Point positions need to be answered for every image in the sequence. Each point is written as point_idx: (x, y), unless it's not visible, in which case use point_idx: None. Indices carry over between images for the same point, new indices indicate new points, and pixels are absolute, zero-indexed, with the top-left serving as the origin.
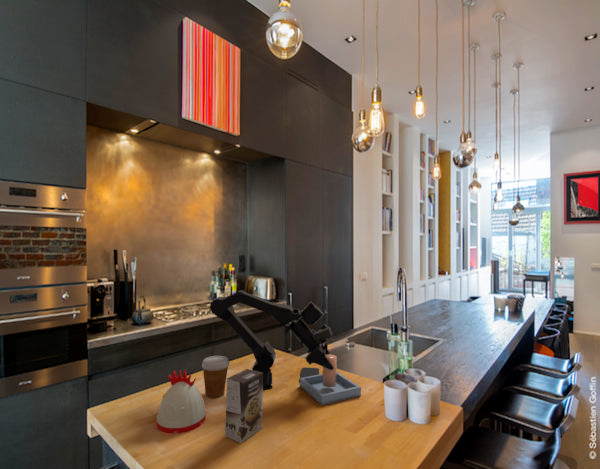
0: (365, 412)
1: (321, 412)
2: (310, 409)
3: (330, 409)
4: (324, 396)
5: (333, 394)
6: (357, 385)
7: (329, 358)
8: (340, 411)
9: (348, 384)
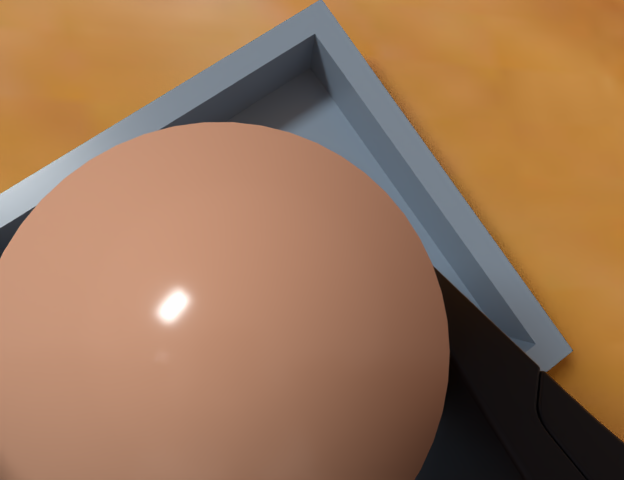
0: (554, 37)
1: (620, 331)
2: (598, 416)
3: (566, 270)
4: (550, 327)
5: (494, 249)
6: (288, 26)
7: (404, 349)
8: (577, 200)
9: (205, 118)
